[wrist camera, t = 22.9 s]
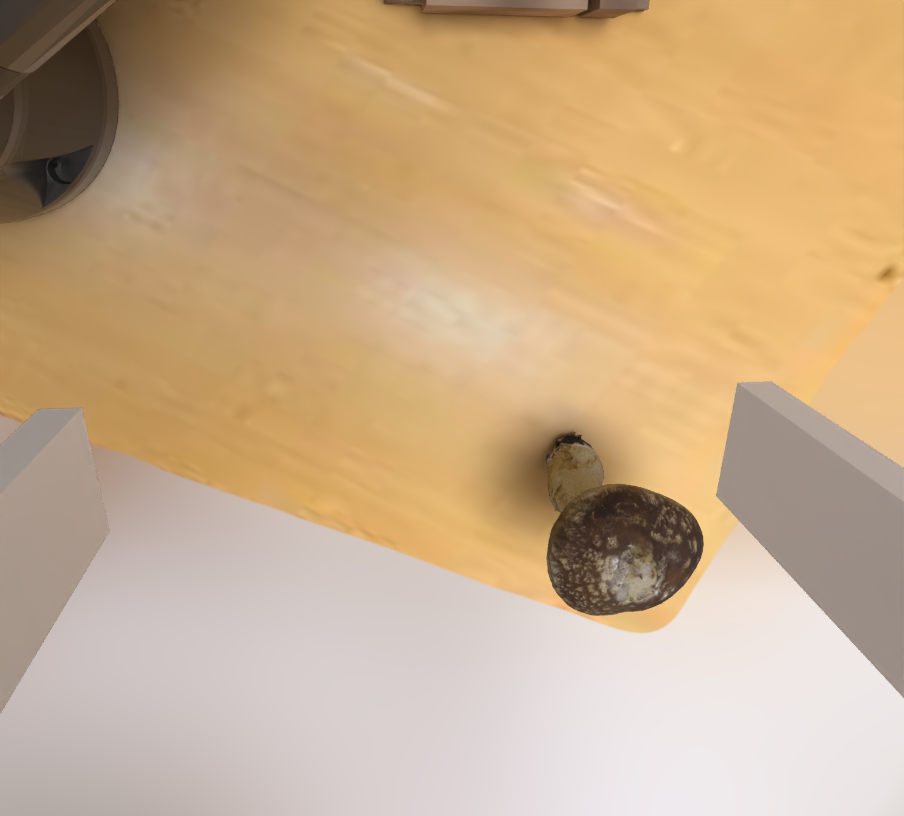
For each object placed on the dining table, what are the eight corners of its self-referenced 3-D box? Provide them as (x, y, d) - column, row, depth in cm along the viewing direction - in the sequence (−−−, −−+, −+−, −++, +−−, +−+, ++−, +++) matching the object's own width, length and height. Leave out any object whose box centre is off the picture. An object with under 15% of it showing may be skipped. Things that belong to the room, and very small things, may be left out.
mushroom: (478, 460, 50) (523, 590, 37) (559, 375, 48) (638, 478, 35) (566, 525, 54) (636, 666, 40) (645, 448, 52) (747, 568, 38)
